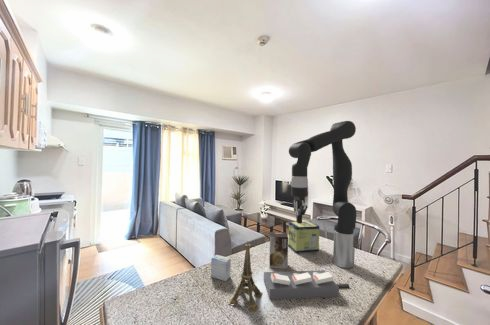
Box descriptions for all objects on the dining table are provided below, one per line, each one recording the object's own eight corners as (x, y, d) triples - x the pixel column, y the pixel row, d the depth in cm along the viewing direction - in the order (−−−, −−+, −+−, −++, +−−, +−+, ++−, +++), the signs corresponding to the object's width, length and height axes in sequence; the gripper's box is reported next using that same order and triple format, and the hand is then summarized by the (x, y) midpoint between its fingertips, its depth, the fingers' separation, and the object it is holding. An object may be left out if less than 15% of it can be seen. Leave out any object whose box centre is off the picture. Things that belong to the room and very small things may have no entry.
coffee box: (286, 263, 107) (287, 232, 106) (287, 269, 100) (288, 237, 100) (268, 261, 108) (269, 231, 107) (269, 268, 101) (270, 235, 101)
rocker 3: (328, 275, 86) (328, 271, 86) (333, 280, 82) (332, 276, 82) (313, 279, 85) (312, 275, 85) (317, 284, 82) (316, 280, 82)
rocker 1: (286, 279, 84) (287, 275, 84) (289, 285, 80) (290, 280, 80) (270, 277, 83) (271, 273, 83) (272, 282, 80) (273, 278, 80)
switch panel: (340, 278, 94) (340, 268, 94) (357, 296, 82) (357, 284, 82) (263, 281, 90) (263, 270, 90) (269, 299, 78) (270, 287, 78)
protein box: (287, 246, 128) (288, 221, 128) (309, 244, 132) (310, 220, 132) (295, 253, 118) (296, 227, 118) (319, 251, 122) (320, 225, 122)
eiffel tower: (256, 312, 71) (258, 241, 71) (228, 304, 75) (230, 237, 74) (262, 293, 82) (264, 231, 81) (237, 287, 85) (239, 228, 84)
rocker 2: (308, 275, 85) (307, 272, 85) (312, 281, 81) (311, 277, 81) (292, 279, 84) (291, 275, 84) (295, 284, 81) (294, 280, 81)
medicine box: (230, 277, 92) (231, 258, 92) (225, 282, 88) (226, 262, 88) (216, 272, 96) (216, 254, 96) (210, 277, 92) (211, 258, 92)
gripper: (313, 187, 88) (313, 227, 88) (301, 184, 101) (301, 218, 102) (297, 187, 87) (296, 227, 88) (286, 184, 100) (286, 219, 101)
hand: (299, 222), depth 95 cm, fingers closed
